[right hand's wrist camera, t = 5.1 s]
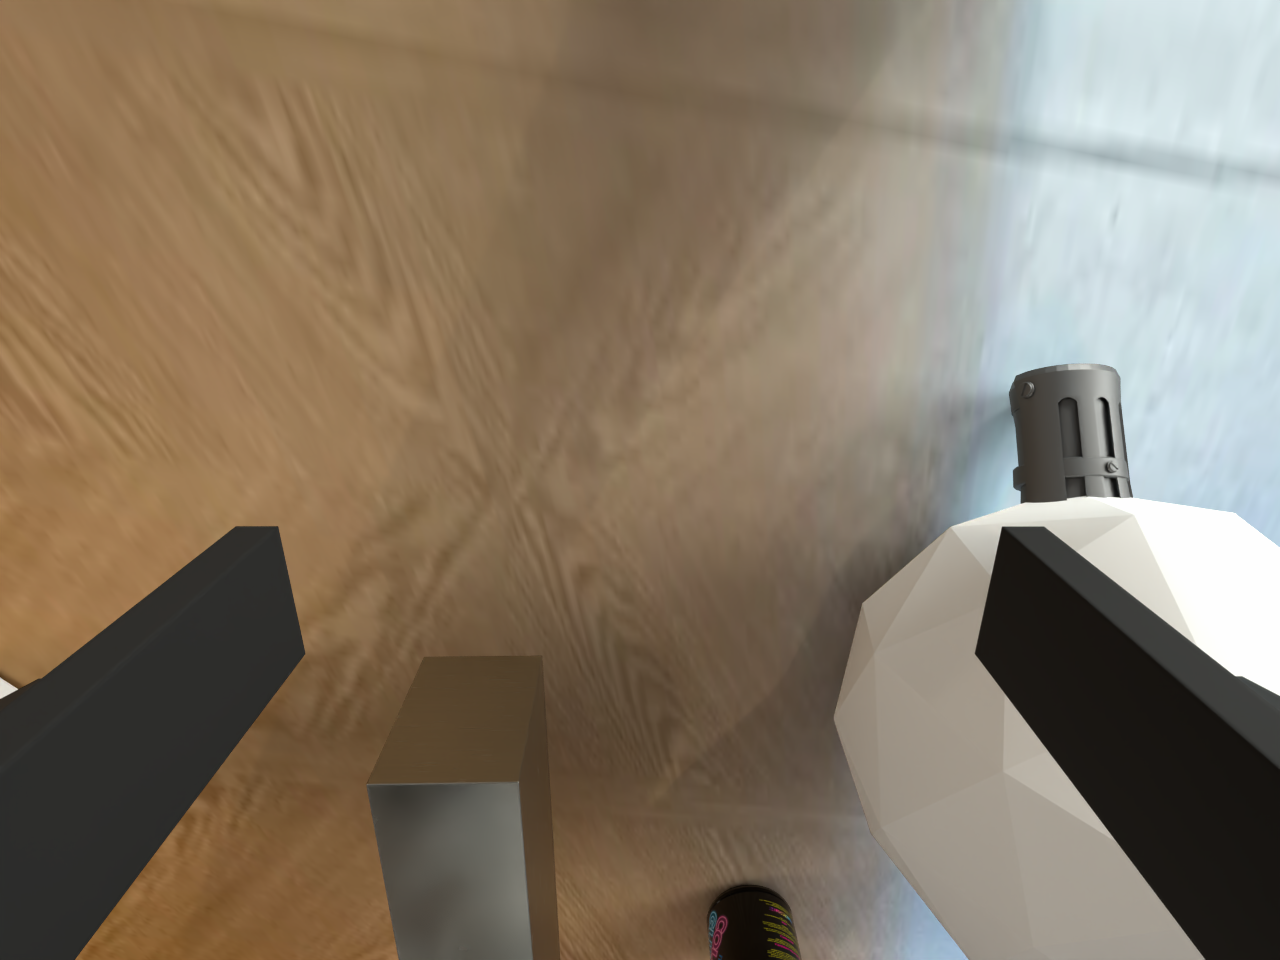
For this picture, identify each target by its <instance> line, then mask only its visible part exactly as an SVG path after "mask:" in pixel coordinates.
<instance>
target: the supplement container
mask: <svg viewBox="0 0 1280 960" xmlns="http://www.w3.org/2000/svg"><path fill="white" fill-rule="evenodd" d="M707 929H708V939H709V950H710V960H802V959H801V954H800V949H799V945H798V940H797V936H796V931H795V926H794V922H793V917H792V913H791V909H790V907H789V905H788V904H787V902H786V901H785V900H784V899H783V898H782V897H781V896H780V895H779V894H778V893H776V892H775V891H773V890H771V889H769V888H766V887H763V886H758V885H743V886H738V887H734V888H731V889H729V890H727V891H725V892H723V893H722V894H721V895H719V896H718V897H717V898H716V899H715V901H714V902H713V903H712V905H711V907H710V909H709V912H708V915H707Z"/></svg>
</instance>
